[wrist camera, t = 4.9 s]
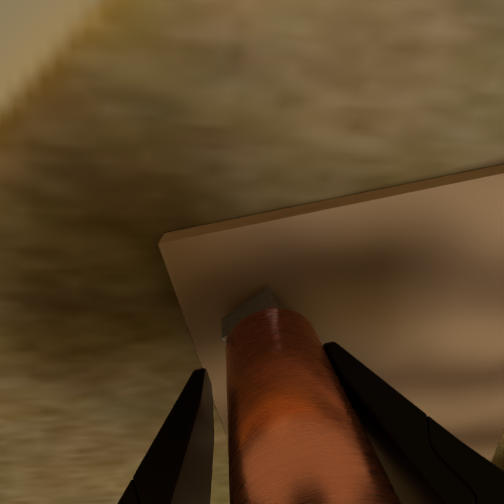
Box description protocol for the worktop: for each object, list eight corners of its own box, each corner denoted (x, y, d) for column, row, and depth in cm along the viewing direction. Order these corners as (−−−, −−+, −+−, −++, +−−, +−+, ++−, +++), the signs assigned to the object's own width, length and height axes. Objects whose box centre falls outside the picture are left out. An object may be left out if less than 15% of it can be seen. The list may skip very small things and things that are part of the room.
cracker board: (476, 444, 20) (536, 514, 16) (254, 497, 20) (262, 584, 16) (575, 149, 11) (761, 155, 7) (164, 233, 10) (132, 286, 7)
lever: (410, 438, 16) (558, 668, 9) (360, 463, 17) (463, 699, 10) (277, 274, 10) (405, 574, 3) (207, 323, 11) (184, 669, 4)
